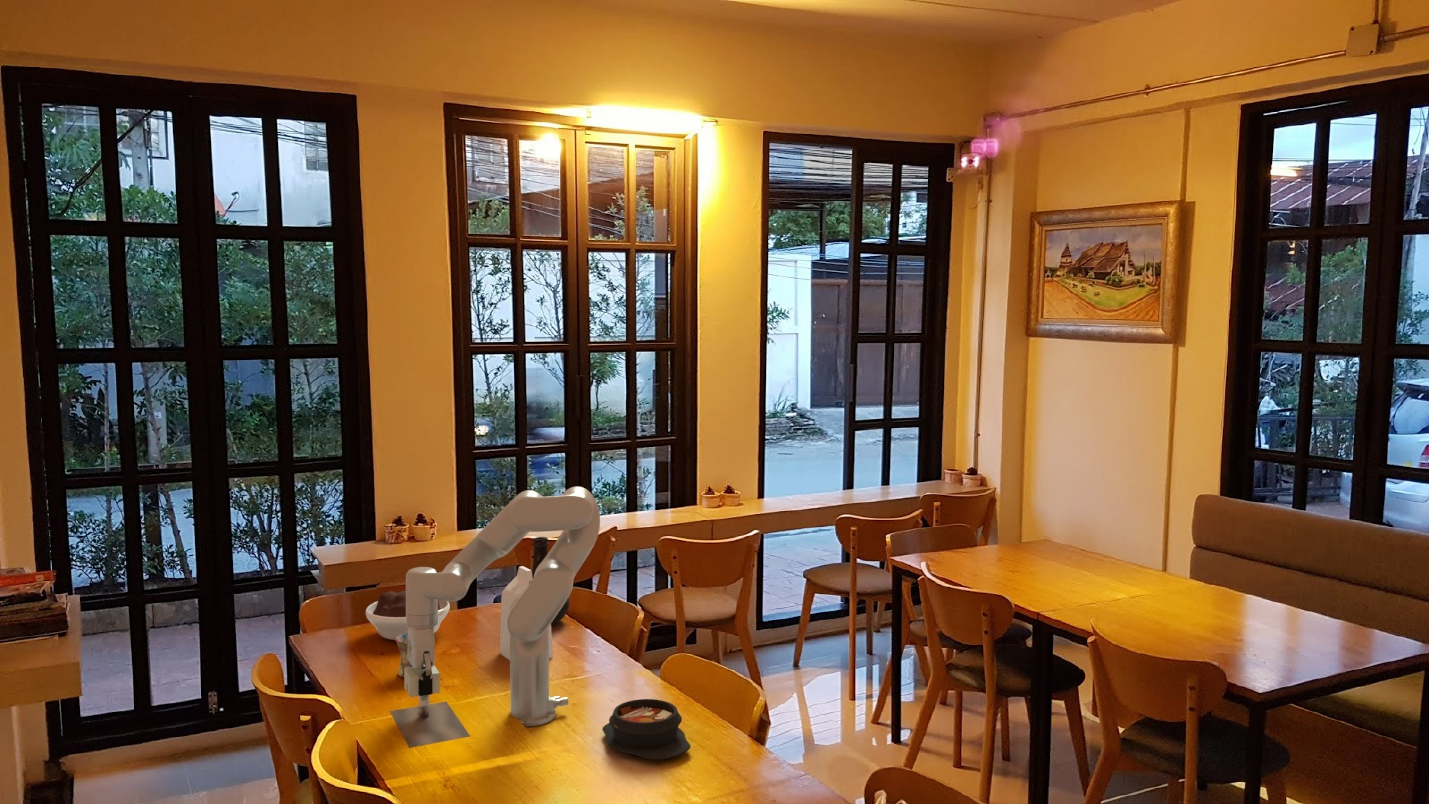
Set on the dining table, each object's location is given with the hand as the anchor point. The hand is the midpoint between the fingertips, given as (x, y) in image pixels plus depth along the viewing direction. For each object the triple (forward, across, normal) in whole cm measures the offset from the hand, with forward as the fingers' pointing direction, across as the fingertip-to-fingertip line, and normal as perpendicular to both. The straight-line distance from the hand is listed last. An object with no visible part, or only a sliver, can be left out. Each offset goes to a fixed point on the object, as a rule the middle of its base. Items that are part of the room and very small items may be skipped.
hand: (422, 689), depth 252 cm
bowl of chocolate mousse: (+9, -70, +10) cm, 71 cm away
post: (+7, -1, 0) cm, 7 cm away
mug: (+9, -36, +4) cm, 37 cm away
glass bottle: (+8, -64, +52) cm, 82 cm away
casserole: (+8, +37, +44) cm, 58 cm away
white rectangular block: (0, 0, 0) cm, 0 cm away
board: (+8, +5, 0) cm, 10 cm away
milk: (+8, -36, +38) cm, 52 cm away
